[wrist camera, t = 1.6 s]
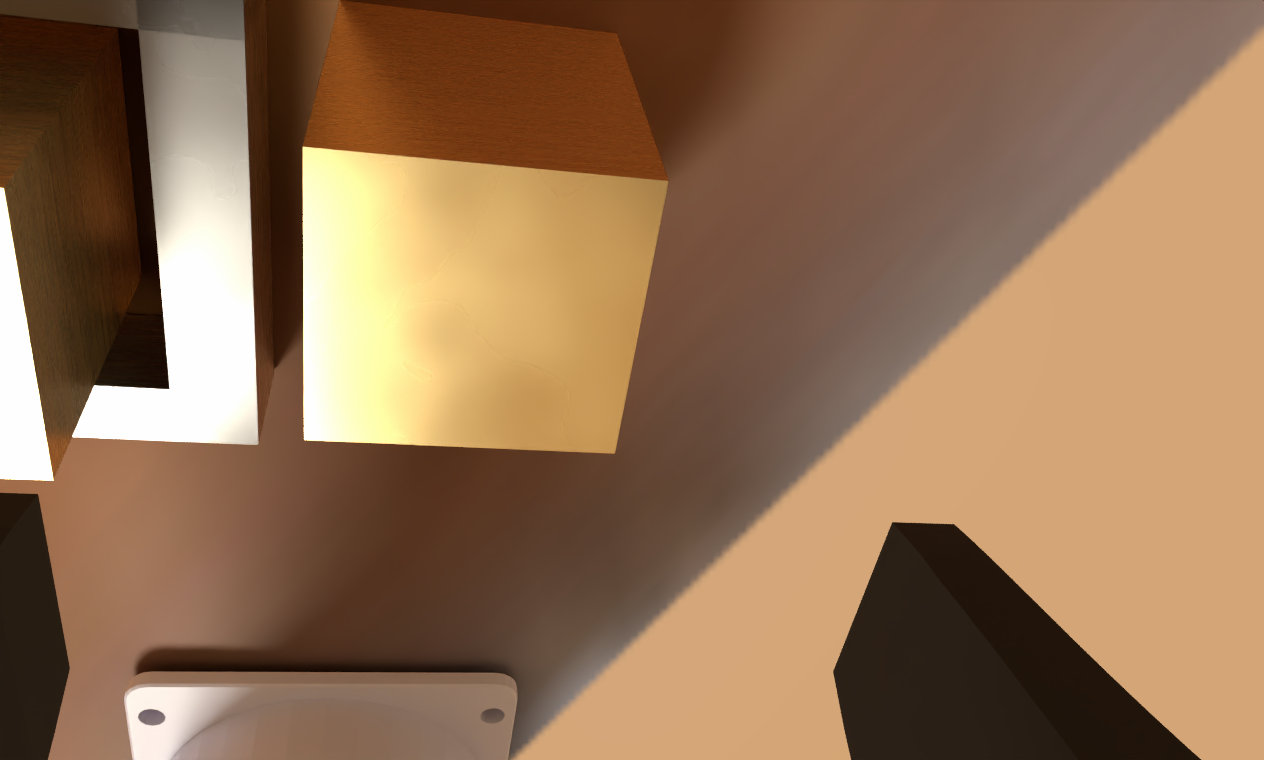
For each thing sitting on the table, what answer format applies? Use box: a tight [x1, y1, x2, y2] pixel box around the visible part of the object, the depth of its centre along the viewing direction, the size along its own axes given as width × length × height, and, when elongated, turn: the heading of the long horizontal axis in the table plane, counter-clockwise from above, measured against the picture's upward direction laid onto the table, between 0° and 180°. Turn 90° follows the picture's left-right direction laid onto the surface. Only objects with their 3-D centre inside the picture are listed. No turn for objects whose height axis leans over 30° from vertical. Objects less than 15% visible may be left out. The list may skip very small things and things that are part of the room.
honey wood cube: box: [303, 0, 669, 454], centre depth 15 cm, size 4×4×5 cm
